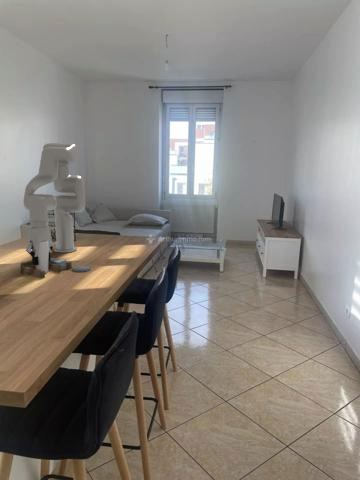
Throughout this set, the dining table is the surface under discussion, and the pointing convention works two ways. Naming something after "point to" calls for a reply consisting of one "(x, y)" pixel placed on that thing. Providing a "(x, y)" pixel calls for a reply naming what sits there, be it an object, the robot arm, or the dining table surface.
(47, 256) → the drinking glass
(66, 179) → the robot arm
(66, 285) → the dining table surface
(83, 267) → the felt coaster
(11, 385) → the dining table surface
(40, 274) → the walnut cubby
